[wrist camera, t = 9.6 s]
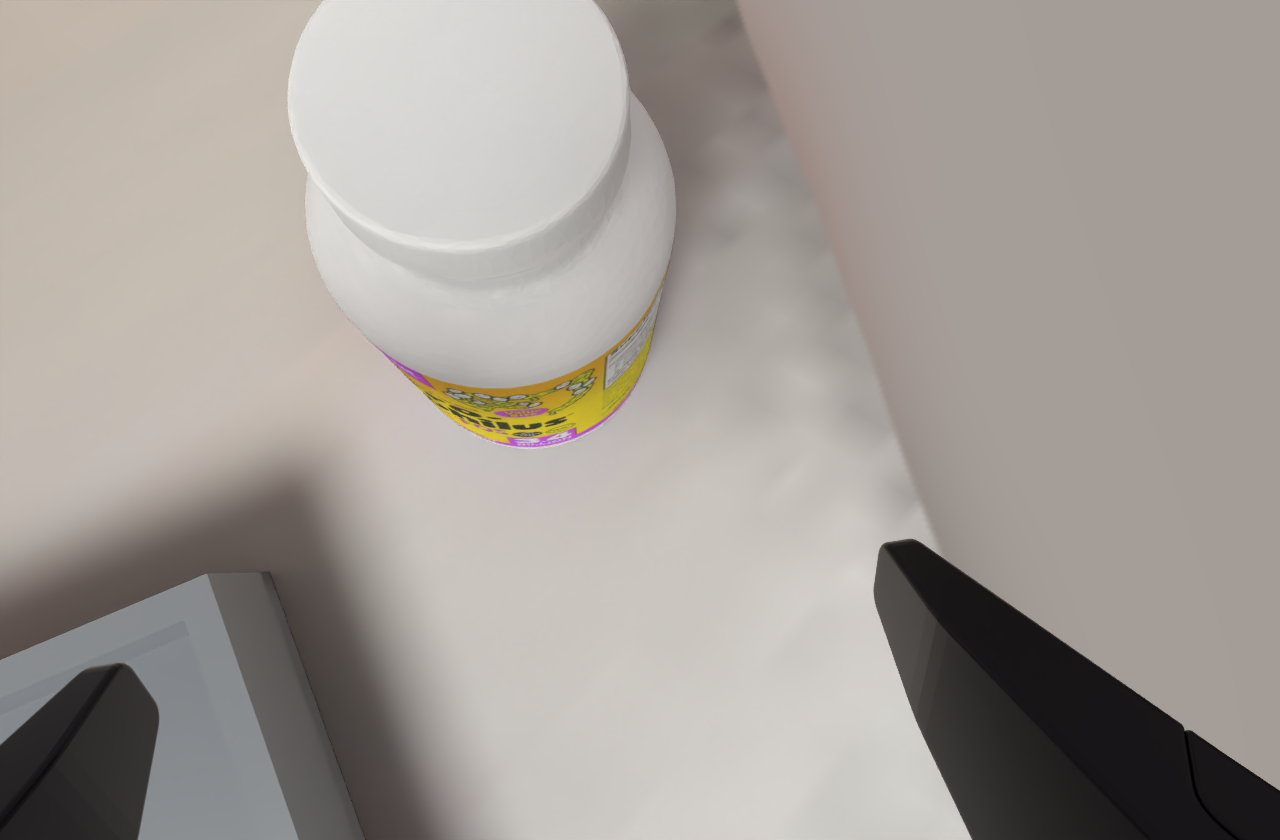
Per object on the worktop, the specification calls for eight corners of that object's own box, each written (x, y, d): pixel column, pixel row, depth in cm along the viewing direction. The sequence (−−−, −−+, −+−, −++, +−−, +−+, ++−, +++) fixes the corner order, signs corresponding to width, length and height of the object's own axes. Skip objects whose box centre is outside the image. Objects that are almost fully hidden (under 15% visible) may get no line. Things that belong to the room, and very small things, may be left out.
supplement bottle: (378, 386, 23) (100, 169, 10) (492, 199, 24) (369, -203, 11) (581, 495, 23) (553, 409, 10) (687, 300, 24) (781, 3, 11)
